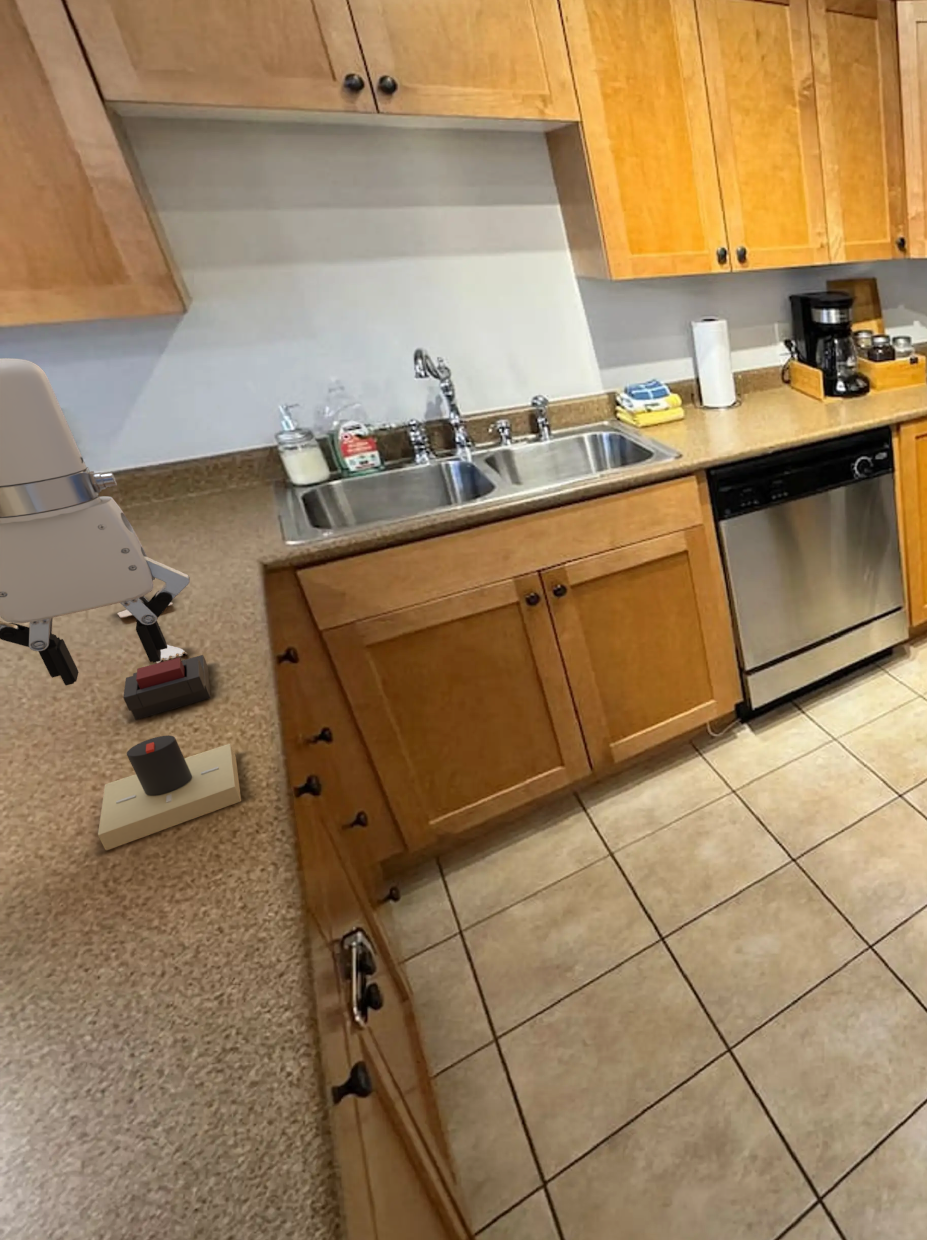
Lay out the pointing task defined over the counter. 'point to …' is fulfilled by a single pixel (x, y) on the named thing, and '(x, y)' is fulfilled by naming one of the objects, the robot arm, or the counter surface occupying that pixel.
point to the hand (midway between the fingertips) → (114, 666)
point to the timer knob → (159, 765)
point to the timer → (168, 799)
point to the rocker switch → (169, 690)
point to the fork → (171, 653)
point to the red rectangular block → (160, 673)
